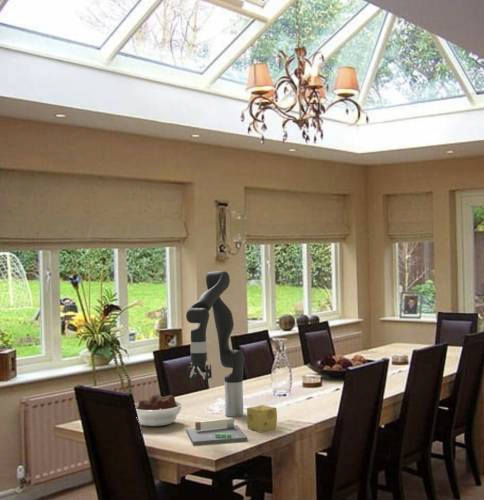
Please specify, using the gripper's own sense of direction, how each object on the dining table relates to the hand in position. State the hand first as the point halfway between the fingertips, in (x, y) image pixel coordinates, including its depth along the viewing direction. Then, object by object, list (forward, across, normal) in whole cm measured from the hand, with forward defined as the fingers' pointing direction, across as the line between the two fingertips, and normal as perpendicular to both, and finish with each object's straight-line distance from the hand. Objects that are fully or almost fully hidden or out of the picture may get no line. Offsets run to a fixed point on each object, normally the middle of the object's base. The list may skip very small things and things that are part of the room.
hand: (199, 386), depth 331 cm
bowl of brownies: (+22, -30, -2) cm, 37 cm away
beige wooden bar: (+20, +5, +5) cm, 21 cm away
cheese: (+22, +16, +24) cm, 36 cm away
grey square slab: (+21, +10, 0) cm, 24 cm away
